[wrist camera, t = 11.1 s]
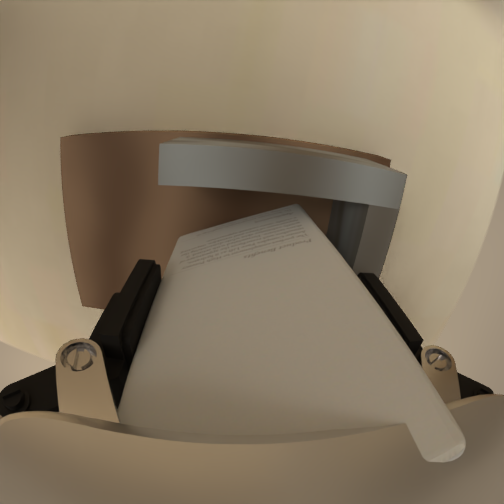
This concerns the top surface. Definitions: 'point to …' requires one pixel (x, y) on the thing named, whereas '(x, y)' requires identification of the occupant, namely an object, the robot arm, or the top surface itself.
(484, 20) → the top surface
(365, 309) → the skincare box
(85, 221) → the u rest
